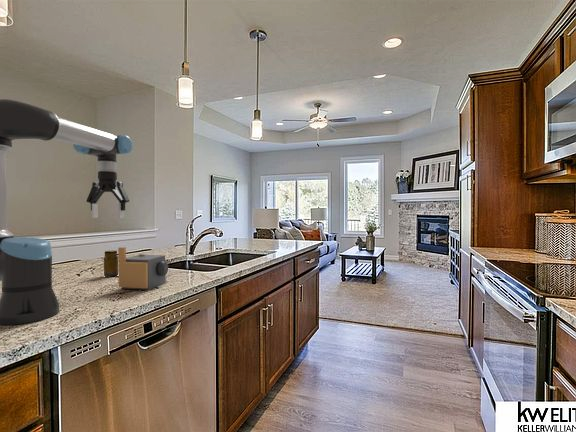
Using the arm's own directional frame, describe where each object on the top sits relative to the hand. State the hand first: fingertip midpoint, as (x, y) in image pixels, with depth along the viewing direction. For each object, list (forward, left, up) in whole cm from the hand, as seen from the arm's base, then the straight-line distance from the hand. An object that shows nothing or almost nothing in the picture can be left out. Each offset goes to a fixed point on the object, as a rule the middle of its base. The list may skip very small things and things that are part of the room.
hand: (108, 217), depth 145 cm
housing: (-9, -24, -28) cm, 38 cm away
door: (-16, -24, -27) cm, 40 cm away
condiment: (+6, +3, -28) cm, 29 cm away
